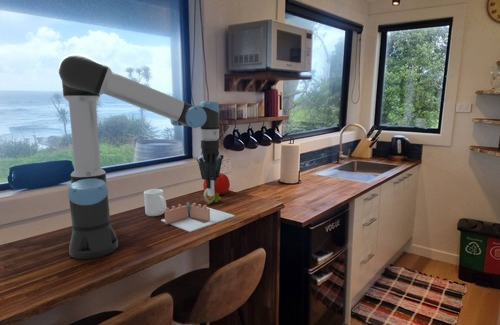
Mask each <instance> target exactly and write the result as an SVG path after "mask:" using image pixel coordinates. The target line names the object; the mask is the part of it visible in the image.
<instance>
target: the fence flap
mask: <svg viewBox="0 0 500 325" xmlns="http://www.w3.org/2000/svg"><path fill="white" fill-rule="evenodd" d="M207 207H208V204H207V205H206V204H204V205H202V204H201V203H199V204H197V203H196V202H193V203H192V204H190V206H189V208H190V217H192V218H196V219H200V220H205V221H210V209H209V208H210V207H208V208H207Z"/></svg>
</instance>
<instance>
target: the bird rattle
mask: <svg viewBox="0 0 500 325" xmlns="http://www.w3.org/2000/svg"><path fill="white" fill-rule="evenodd" d="M205 185H206V184H205ZM203 199H204V201H205V202H206V204H207V205H211V203H213V202H215V203H218V201H219V200H221V199H222V197H221V195H219V194H218V193H216V194H215V191H214V196H208V195H207V189H206V190H204V192H203Z"/></svg>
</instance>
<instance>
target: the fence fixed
mask: <svg viewBox="0 0 500 325" xmlns="http://www.w3.org/2000/svg"><path fill="white" fill-rule="evenodd" d="M190 205H191V202H188V201H187V202H186V205H182V204H180V203H178V204H177V207H176V206H175V205H172V206H171V209H170V208H169V207H166V210H165V211H164V219H165V222H164V224H165V225H170V224H169V223H172V222H175V221H179V220H182V219H185V218H187V217H190V208H189V206H190Z"/></svg>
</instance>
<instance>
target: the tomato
mask: <svg viewBox="0 0 500 325" xmlns="http://www.w3.org/2000/svg"><path fill="white" fill-rule="evenodd" d="M216 179H217V180H215V187H214V191H215V194H216V193H218V194H219V196H221V195H225V194H227V192H228V191H229V190H230V185H231V183H230V179H229V177H228V176H227V175H226V174H225V173H222V172H220V175H219V178H216ZM205 184H206V180H203V183H202V187H203V191H205V190H206V189H207V188H206V185H205Z"/></svg>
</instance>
